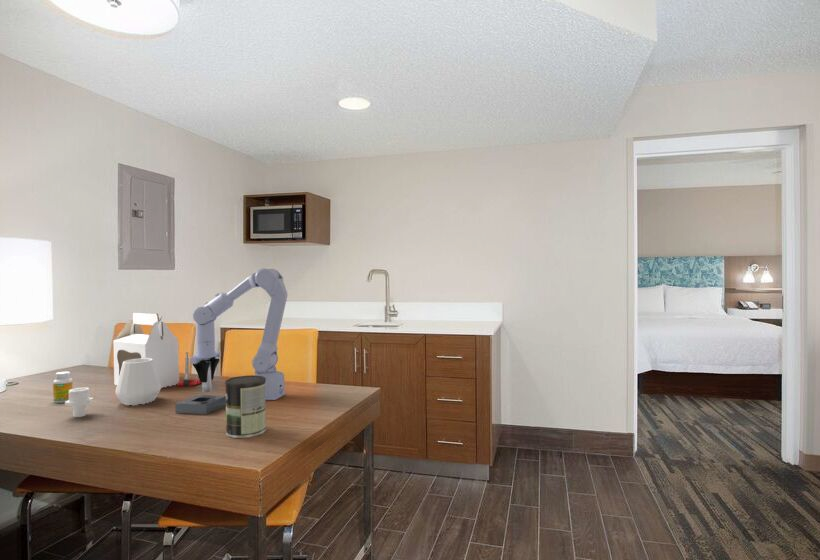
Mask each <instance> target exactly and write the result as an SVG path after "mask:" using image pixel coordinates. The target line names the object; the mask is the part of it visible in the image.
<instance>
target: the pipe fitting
mask: <svg viewBox="0 0 820 560" xmlns="http://www.w3.org/2000/svg"><path fill="white" fill-rule="evenodd" d="M92 402H94V397H90V388H89V387H77V388H73V389H71V390H69V400H68V401H66V402H64V406H69V407H72V416H73V418H81V417H85V416H86V415H87V405H89V404H91V403H92Z"/></svg>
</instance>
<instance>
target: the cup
mask: <svg viewBox="0 0 820 560" xmlns="http://www.w3.org/2000/svg"><path fill="white" fill-rule="evenodd" d="M161 389H162V388H161V385H160V382H159V379H158V375H157V372H156V369H155V366H154V362H153V359H150V358H140V359H131V360H126V361H124V362H123V364H122V368H121V371H120V375H119V379H118V383H117V386H116V387H115V396H116V397H117V398H118V400H119V401H120V402H121V404H122V405H123V404H125V405H124V406H129V405H132V406H139V405H138V404H142V405H146V404H145V403H147V404H150V403H152V401H153V402H154V401H155V400H156V399H157V396H158V394H159V393H160V392H161ZM149 402H150V403H149Z"/></svg>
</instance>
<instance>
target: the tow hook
mask: <svg viewBox="0 0 820 560" xmlns="http://www.w3.org/2000/svg"><path fill="white" fill-rule="evenodd" d="M184 358H185V359H184V360H185V361H184V363H185V364H184V367H185V369H184V379H183V380H181V381H179V382H178V384H177V385H176V386H178V387H193V386H194V387H196V386H195V385H201V384H202V382H200V380H199V379H191V378H190V372H189V370H190V369H189V368H190V366H189V365H190V357H189V352H185V357H184ZM194 381H197V382H194ZM200 383H201V384H200Z"/></svg>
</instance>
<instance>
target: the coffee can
mask: <svg viewBox="0 0 820 560" xmlns="http://www.w3.org/2000/svg"><path fill="white" fill-rule="evenodd" d="M265 381H266V378H265V377H263V376H255V374H254V375H252V374H250V375H240V376H235V377H231V378H228V379H226V380H224V385H225V386H224V387H225V396H226V406H225V423H226V424H225V429H226V430H225V431H226V432H225V435H226V436H227V437H229V438H233V439H247V438H248V439H249V438H253V437H257V436H261V435H262V434H264V433H265V432H266V431H267V424H266V423H267V420H266V418H267V417H266V416H267V413H266V408H267V407H266V400H265Z"/></svg>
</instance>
